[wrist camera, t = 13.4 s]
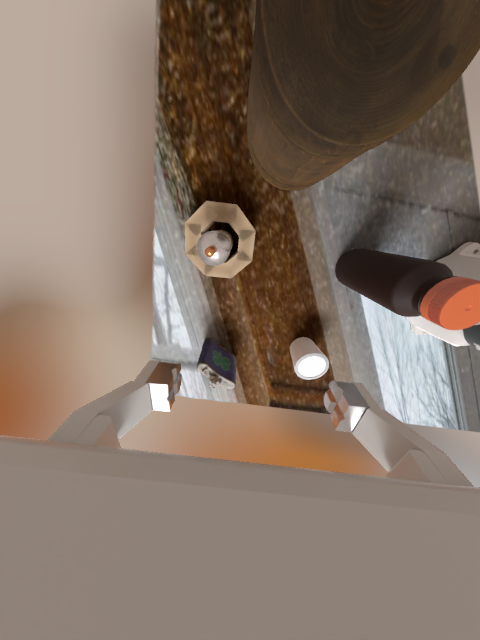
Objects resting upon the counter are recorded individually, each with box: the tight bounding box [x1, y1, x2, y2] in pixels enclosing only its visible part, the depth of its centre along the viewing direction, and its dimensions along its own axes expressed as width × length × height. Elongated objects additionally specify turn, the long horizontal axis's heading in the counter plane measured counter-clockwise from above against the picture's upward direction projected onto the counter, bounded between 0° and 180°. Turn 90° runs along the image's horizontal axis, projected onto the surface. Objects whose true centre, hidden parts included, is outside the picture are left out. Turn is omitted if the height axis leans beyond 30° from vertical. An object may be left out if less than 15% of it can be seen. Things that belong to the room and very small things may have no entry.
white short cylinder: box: [290, 337, 329, 380], centre depth 40 cm, size 7×7×7 cm
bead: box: [185, 201, 256, 278], centre depth 31 cm, size 11×11×4 cm
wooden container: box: [247, 0, 480, 190], centre depth 17 cm, size 15×15×22 cm
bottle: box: [335, 249, 480, 331], centre depth 26 cm, size 7×7×20 cm
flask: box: [197, 338, 236, 389], centre depth 39 cm, size 9×3×11 cm, turn 48°
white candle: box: [197, 230, 233, 266], centre depth 27 cm, size 4×4×15 cm
